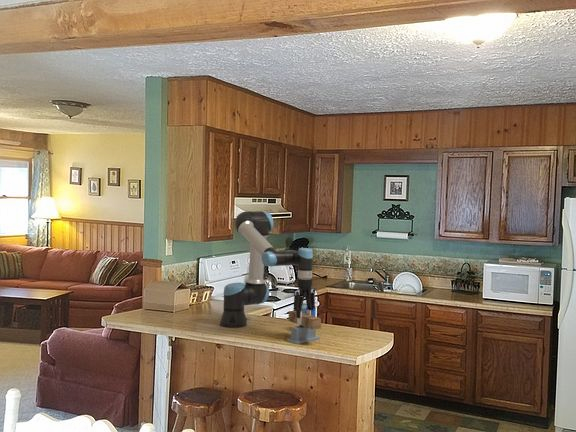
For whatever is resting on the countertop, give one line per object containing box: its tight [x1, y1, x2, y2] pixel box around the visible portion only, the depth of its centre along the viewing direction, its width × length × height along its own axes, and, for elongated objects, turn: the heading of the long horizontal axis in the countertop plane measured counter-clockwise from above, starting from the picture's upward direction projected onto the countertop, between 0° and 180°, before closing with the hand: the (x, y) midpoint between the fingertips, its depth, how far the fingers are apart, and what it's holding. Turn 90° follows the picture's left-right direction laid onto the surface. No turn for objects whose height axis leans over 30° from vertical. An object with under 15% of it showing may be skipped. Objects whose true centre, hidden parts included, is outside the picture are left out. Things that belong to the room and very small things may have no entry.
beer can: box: [299, 301, 316, 326], centre depth 322 cm, size 8×8×16 cm
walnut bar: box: [288, 310, 322, 330], centre depth 303 cm, size 24×5×5 cm, turn 29°
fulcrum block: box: [286, 325, 321, 345], centre depth 304 cm, size 8×16×7 cm, turn 134°
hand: (303, 323), depth 303 cm, fingers closed on walnut bar, 6 cm apart
